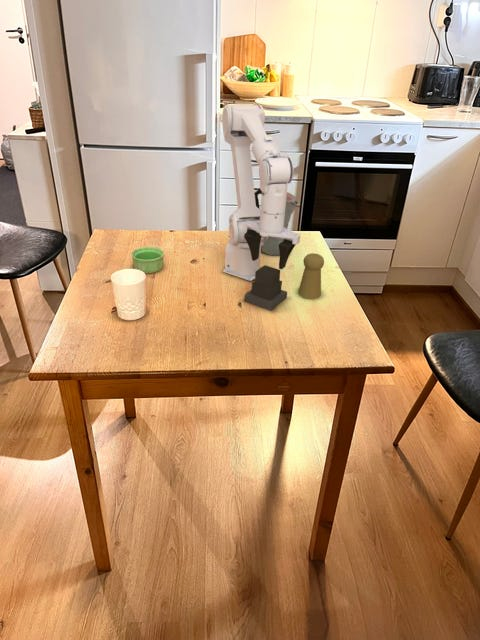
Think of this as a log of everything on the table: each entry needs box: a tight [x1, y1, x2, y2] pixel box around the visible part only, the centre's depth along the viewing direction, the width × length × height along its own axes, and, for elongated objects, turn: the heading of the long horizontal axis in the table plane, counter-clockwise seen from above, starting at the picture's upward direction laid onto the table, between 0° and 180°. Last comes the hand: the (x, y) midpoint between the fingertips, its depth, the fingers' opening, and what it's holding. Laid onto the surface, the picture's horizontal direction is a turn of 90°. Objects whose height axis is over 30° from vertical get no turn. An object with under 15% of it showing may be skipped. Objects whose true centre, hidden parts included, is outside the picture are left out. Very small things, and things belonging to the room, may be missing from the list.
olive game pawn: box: [298, 252, 325, 300], centre depth 129 cm, size 6×6×11 cm
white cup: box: [110, 268, 147, 321], centre depth 117 cm, size 8×8×10 cm
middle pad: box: [251, 280, 283, 301], centre depth 126 cm, size 6×6×3 cm
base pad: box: [244, 289, 288, 312], centre depth 128 cm, size 8×8×2 cm
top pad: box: [254, 265, 281, 288], centre depth 124 cm, size 5×5×3 cm
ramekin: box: [131, 246, 165, 274], centre depth 140 cm, size 9×9×4 cm
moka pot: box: [254, 188, 300, 256], centre depth 149 cm, size 10×15×20 cm, turn 58°
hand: (268, 263), depth 123 cm, fingers open, 7 cm apart
